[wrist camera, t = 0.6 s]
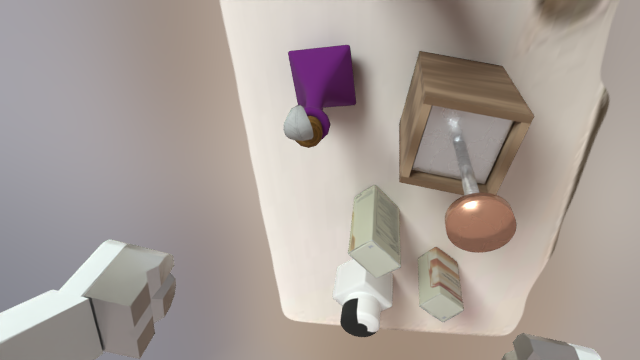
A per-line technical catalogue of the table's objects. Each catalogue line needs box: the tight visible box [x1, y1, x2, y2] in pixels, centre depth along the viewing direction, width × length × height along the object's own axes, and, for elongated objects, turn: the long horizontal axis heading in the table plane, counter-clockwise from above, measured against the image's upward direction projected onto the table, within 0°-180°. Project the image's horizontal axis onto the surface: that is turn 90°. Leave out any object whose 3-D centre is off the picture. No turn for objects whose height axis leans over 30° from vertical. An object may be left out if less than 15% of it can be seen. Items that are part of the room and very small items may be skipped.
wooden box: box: [399, 51, 534, 195], centre depth 46 cm, size 10×10×14 cm
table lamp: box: [412, 105, 516, 252], centre depth 36 cm, size 8×8×13 cm
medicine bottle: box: [333, 259, 393, 337], centre depth 66 cm, size 7×7×12 cm
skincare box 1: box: [348, 185, 401, 278], centre depth 58 cm, size 6×4×12 cm
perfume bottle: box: [284, 45, 356, 148], centre depth 45 cm, size 8×8×18 cm
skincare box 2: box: [418, 247, 464, 322], centre depth 63 cm, size 5×4×10 cm
